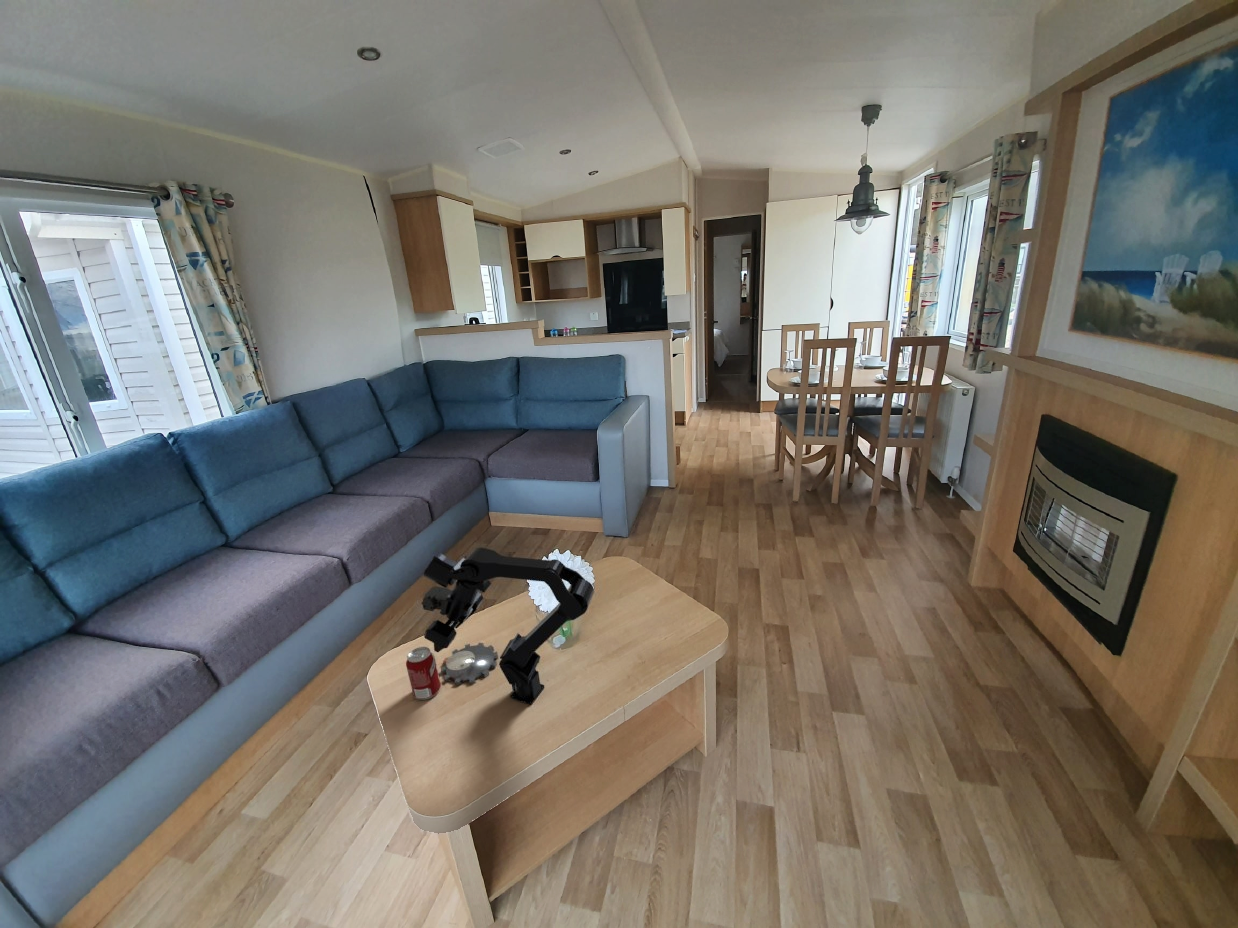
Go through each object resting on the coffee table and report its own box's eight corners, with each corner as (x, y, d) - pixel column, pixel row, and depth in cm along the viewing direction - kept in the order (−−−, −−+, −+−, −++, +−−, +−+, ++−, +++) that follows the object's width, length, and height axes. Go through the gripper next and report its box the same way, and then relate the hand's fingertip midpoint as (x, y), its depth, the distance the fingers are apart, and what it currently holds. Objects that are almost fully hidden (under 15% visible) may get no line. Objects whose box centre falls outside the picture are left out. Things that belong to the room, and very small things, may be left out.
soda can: (432, 703, 124) (423, 664, 120) (408, 700, 125) (398, 661, 121) (446, 683, 130) (438, 646, 126) (423, 680, 131) (414, 643, 127)
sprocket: (508, 653, 140) (508, 649, 139) (474, 691, 127) (473, 687, 126) (467, 641, 146) (466, 637, 145) (429, 676, 133) (429, 672, 132)
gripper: (454, 559, 127) (437, 602, 133) (412, 601, 110) (395, 648, 116) (492, 578, 127) (473, 621, 133) (456, 624, 110) (437, 670, 116)
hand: (446, 638), depth 124 cm, fingers open, 9 cm apart
